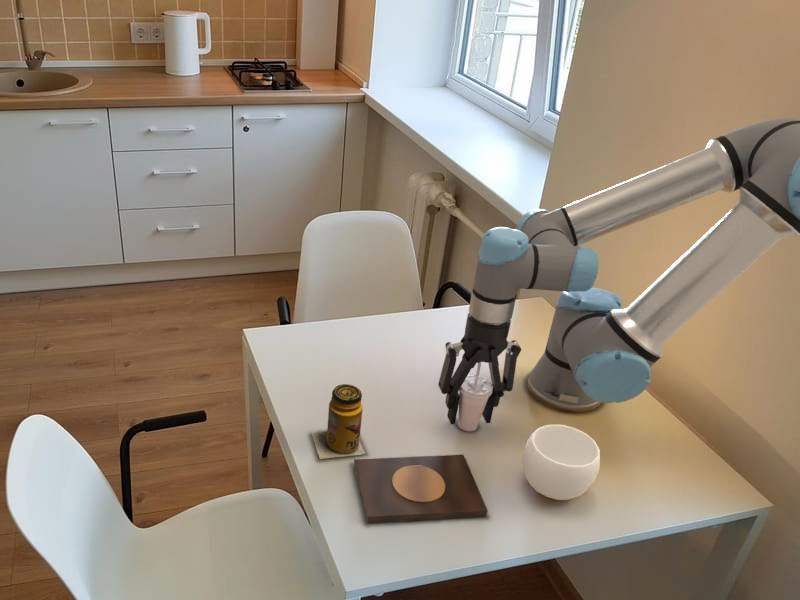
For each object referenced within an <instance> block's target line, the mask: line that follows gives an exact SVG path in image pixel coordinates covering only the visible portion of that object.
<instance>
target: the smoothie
mask: <svg viewBox="0 0 800 600" xmlns="http://www.w3.org/2000/svg"><path fill="white" fill-rule="evenodd" d="M481 367H482V362H480V363H477V368H476V372H475V375H474V374H470V375H469V374H468V375H467V377H466V379H465V381H464V382H463V384H462V386H461V388H460V389H459V391H458V394H459V396H460V400H459V405H458V411H457V419H458V420H457V427H458V428H459V429H461V430H462V431H466V432H474V431H476V430H477V428H478V426H479V423H480V421H481V418H482V417H483V415H482V413H483V411H484V408H485V405H486V403H487V401H488V398H489V396H490V395H491V394H492V390H493V385H492V381H490V380H489V379H487V378H485V377H484V376H480V372H481Z"/></svg>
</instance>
